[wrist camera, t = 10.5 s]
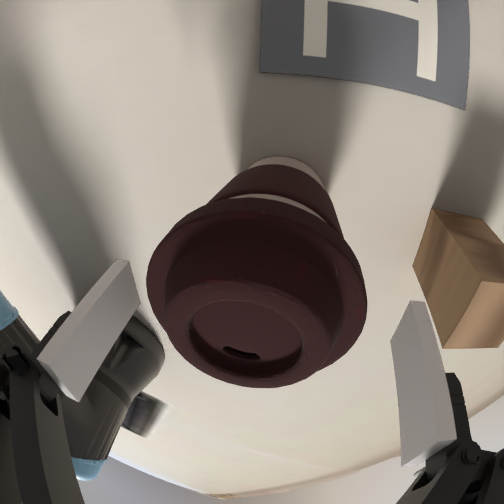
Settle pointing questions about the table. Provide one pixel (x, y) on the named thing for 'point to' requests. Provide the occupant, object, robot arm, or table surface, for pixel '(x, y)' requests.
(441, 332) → the walnut block
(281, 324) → the coffee cup
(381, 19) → the letter mat
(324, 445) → the table surface
